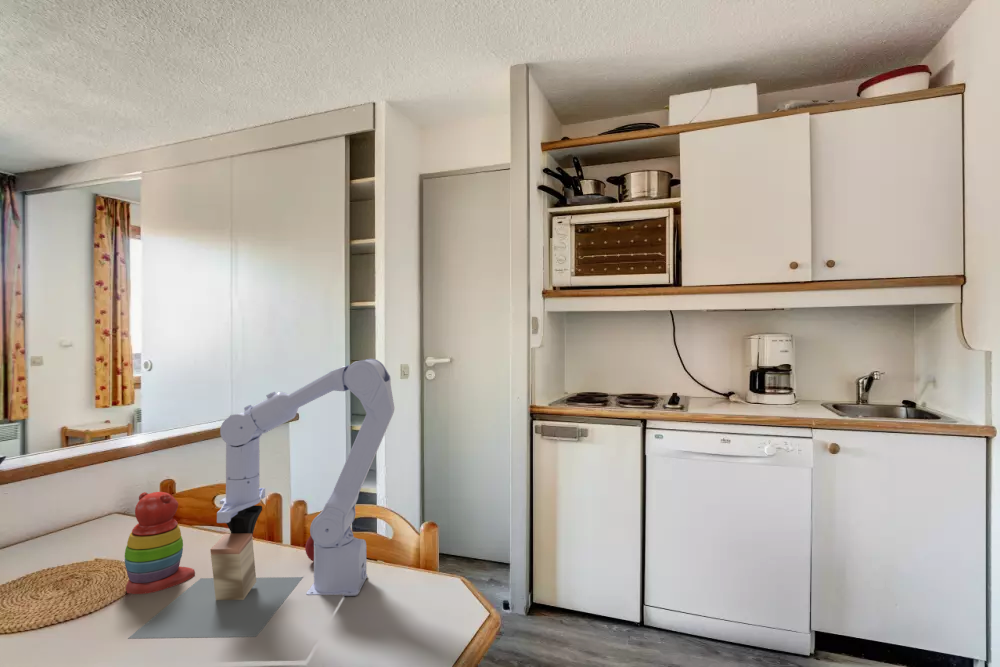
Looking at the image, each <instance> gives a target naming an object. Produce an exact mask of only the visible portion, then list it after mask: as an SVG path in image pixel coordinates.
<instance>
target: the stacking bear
mask: <svg viewBox="0 0 1000 667" xmlns="http://www.w3.org/2000/svg"><path fill="white" fill-rule="evenodd" d="M138 500H139V501H137V503H136V506H135V508H134V515H135V518H136V521H137V522H138V523H137V524H135V526H134V527H133V528H132V530H131V532H130V534H129V536H128V539H127V542H126V546H125V551H124V566H125V569H126V573H127V578H128V581H127V583H126V586H125V592H126V591H127V592H126V593H127V594H133V595H143V594H144V595H145V594H149V593H155V592H159V591H163V590H167V589H169V588H172V587H175V586H177V585H180V584H182V583H184V582H186V581H188V580H190V579H192V578H193V577H195V576H196V575H195V574H196V572H195V569H194V568H193V567H188V566H180V564H181V560H182V557H183V551H184V542H183V541H184V540H183V537H182V531H181V528H180V525H178V521H177V520H176V519H175V518H174V516H175V514H176V512H177V510H178V508H179V502H178V501H177V500H176V498H175V497H174V496H173V495H172V494H170V493H168V492H163V491H155V492H150V493H148V492H146V491H145V492H141V493H140V494H139V496H138Z"/></svg>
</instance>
